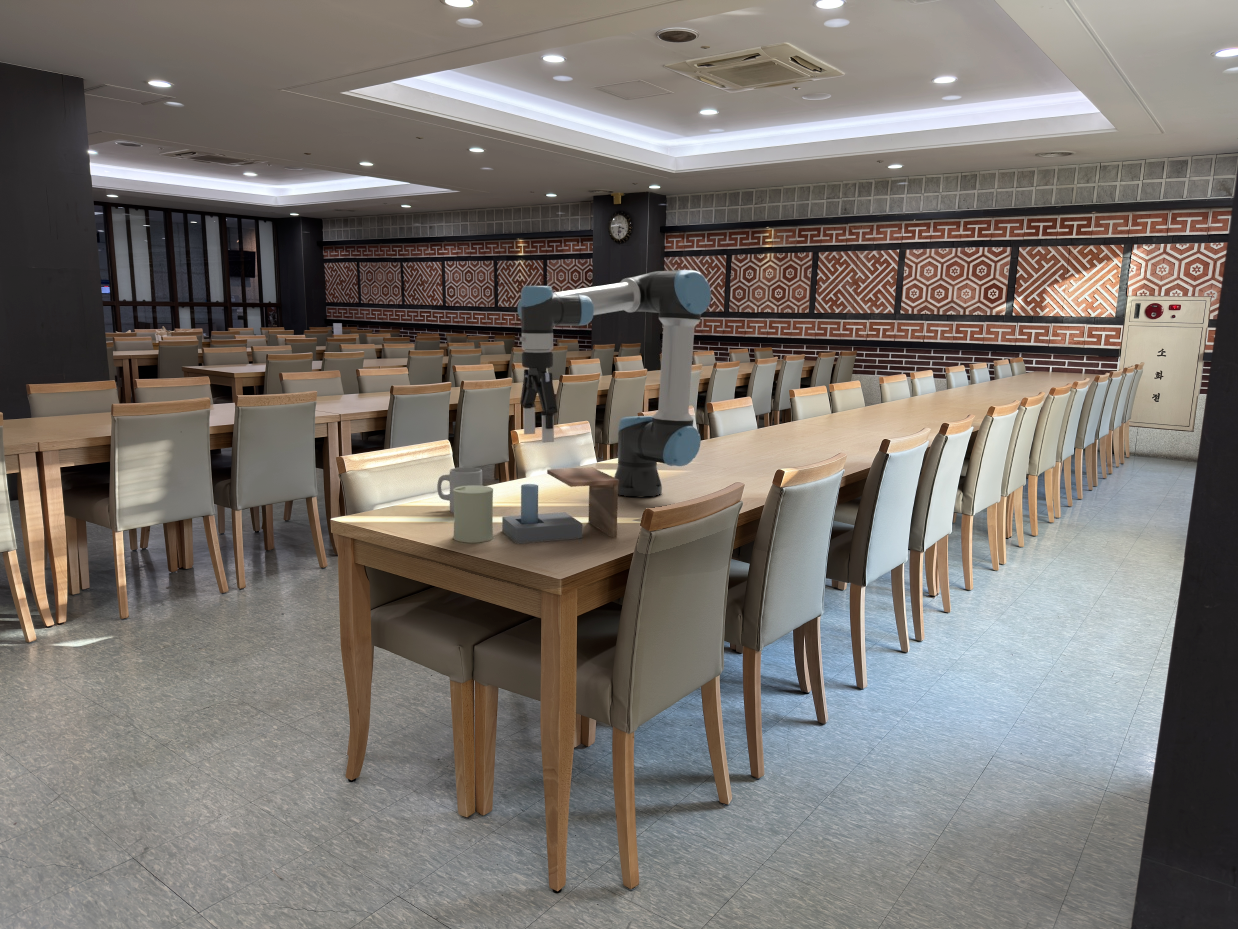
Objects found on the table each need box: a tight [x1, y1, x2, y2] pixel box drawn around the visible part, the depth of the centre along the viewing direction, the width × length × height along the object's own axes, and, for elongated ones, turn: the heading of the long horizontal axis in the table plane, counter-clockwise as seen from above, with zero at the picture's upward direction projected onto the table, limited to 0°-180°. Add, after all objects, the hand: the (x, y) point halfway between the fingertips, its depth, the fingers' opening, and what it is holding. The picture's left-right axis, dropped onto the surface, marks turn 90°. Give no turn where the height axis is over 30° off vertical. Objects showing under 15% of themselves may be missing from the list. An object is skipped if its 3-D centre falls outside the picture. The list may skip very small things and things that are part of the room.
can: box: [452, 485, 494, 544], centre depth 191 cm, size 9×9×12 cm
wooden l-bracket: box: [546, 467, 619, 539], centre depth 200 cm, size 12×17×14 cm
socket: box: [501, 511, 583, 544], centre depth 197 cm, size 16×12×4 cm
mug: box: [436, 466, 483, 514], centre depth 218 cm, size 12×8×11 cm
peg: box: [520, 483, 539, 525], centre depth 195 cm, size 4×4×12 cm
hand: (538, 438), depth 204 cm, fingers open, 13 cm apart
